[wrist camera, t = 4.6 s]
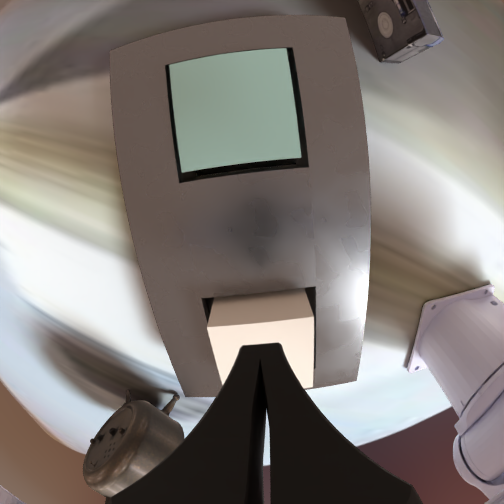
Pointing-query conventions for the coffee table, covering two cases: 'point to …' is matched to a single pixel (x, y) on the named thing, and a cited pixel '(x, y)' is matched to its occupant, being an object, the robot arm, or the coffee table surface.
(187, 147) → the teal key
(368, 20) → the mini dv tape
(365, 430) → the coffee table surface
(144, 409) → the alarm clock
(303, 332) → the white key
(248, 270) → the key housing
